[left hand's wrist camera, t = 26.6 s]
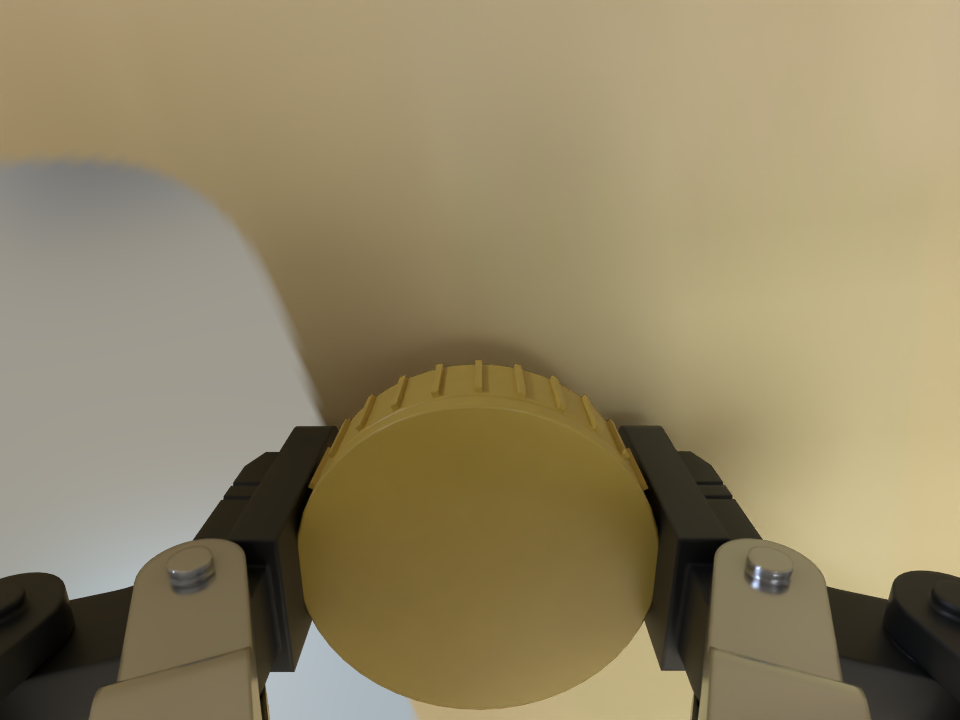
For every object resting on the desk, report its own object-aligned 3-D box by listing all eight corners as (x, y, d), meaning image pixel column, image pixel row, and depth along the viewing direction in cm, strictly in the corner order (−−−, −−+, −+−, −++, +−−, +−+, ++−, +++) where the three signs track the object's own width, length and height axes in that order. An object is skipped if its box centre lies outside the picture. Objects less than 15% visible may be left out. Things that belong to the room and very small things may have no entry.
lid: (313, 622, 11) (287, 697, 10) (323, 340, 10) (292, 379, 8) (606, 649, 12) (626, 728, 10) (669, 378, 10) (705, 423, 8)
